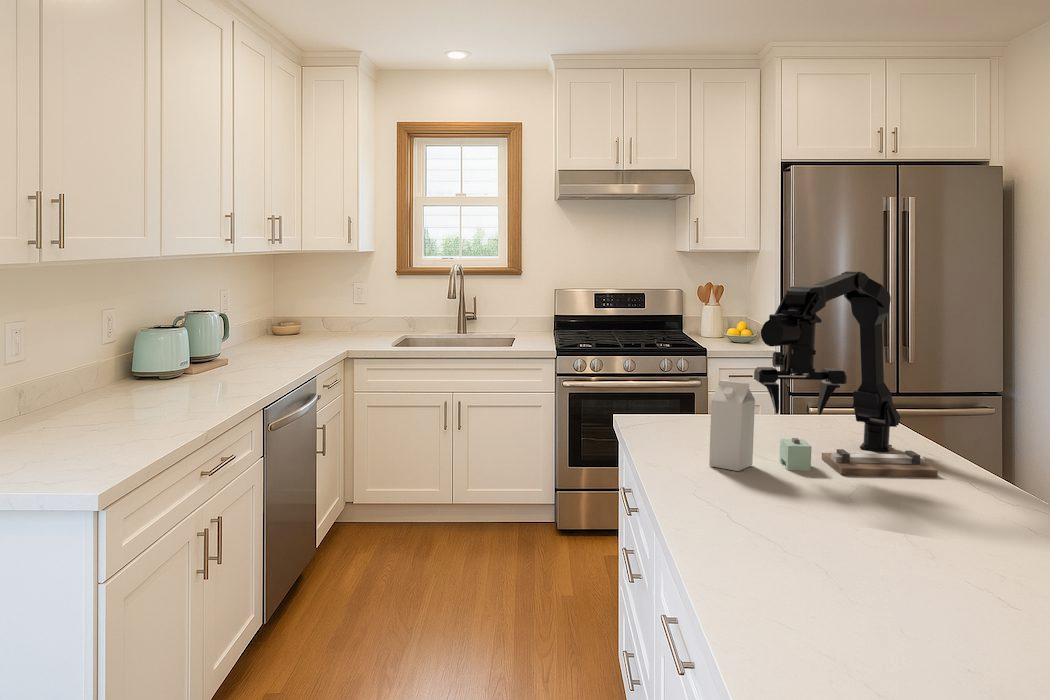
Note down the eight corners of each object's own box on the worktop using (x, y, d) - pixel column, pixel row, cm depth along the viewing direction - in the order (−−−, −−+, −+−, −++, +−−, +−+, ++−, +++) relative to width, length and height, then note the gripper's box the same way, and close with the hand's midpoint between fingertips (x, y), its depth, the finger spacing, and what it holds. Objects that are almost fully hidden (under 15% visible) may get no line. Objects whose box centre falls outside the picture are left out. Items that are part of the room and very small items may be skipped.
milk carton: (723, 460, 185) (725, 378, 183) (752, 465, 180) (755, 381, 178) (708, 466, 179) (711, 382, 177) (739, 472, 175) (742, 385, 173)
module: (801, 462, 183) (802, 435, 183) (810, 470, 176) (811, 442, 176) (779, 462, 184) (780, 435, 183) (787, 470, 177) (788, 442, 176)
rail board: (910, 460, 185) (911, 445, 185) (937, 477, 171) (938, 461, 171) (821, 459, 187) (822, 444, 186) (841, 475, 173) (841, 459, 172)
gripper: (832, 340, 184) (829, 408, 186) (750, 339, 185) (747, 406, 187) (849, 346, 173) (845, 417, 175) (761, 345, 174) (758, 415, 176)
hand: (797, 414), depth 179 cm, fingers open, 9 cm apart
